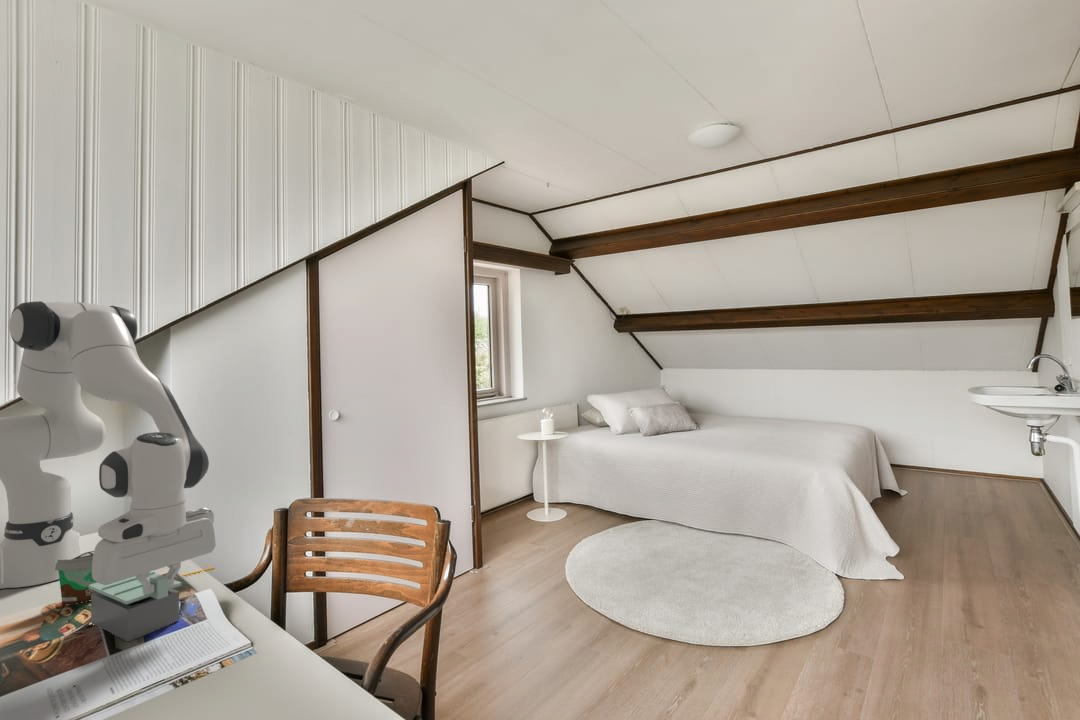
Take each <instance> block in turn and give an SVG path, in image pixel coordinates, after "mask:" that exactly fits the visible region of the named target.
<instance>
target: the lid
mask: <svg viewBox="0 0 1080 720" xmlns="http://www.w3.org/2000/svg"><path fill="white" fill-rule="evenodd" d="M146 579H147V580H148V581H149V582H153V583H155V584H156V588H155V589H156V592H155V593H152V594H150V595H144V594H143V585H142V584H141V583H140V582H139V581H138V580H137V578H136V576H134V577H131V578H128V579H124V580H121V581H118V582H115V583H112V584H108V585H102V584H100V583H98V582H97V583H94V584H91V585H89V589H92V590H94V591H96V592H99V593H101V594H103V595H106V596H108V597H110V598H113V599H115V600H117V601H119V602H122V603H124V604H126V605H127V604H130V603H132V602H135V601H138V600H141V599H144V598H147V597H153V598H155V599H161V598H164V597H166V596H168V590H170V589H175V588H178V587H180V586H182V581H178V580H177V579H175V580H174V586H173V587H170V588H168V577H166V575H163V574H160V573H157V572H155V571H150V577H148V578H146Z"/></svg>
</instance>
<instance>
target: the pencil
mask: <svg viewBox="0 0 1080 720" xmlns="http://www.w3.org/2000/svg"><path fill="white" fill-rule="evenodd" d="M215 569H216V567H214V566H213V567H209V568H205V569H202V570H203V571H205V572H208V571H212V570H215ZM202 570H197V571H194V572H189V573H186V574H181V575H180V576H186V577H188V576H187V575H190V576H192V575H191V574H194V575H197V574H196V573H198V574H201V573H200V572H202ZM205 572H204V573H205ZM202 573H203V572H202Z"/></svg>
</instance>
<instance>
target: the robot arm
mask: <svg viewBox="0 0 1080 720" xmlns="http://www.w3.org/2000/svg"><path fill="white" fill-rule="evenodd" d="M8 321H9V322H8V330H9V334H10V336H11V339H12V341H13V343H15V344H16V345H17V346H18V347H20V348H21V349H23V352H22V356H21V361H20V366H19V367H20V368H19V374H18V381H17V383H16V384H17V385H16V390H17V393H18V395H19V397H20V398H21V399H22V400H24V401H26V403H29V404H31V405H33V406H36V407H40V408H44V412H43V413H41V414H34V415H33V414H32V415H20V416H4V417H0V481H1V482H2V484H3V486H4V488H5V492H6V498H7V509H8V511H7V512H8V521H7V522H6V523H5V527H4V530H3V531H4V534H3V537H4V538H3V540H2V541H1V542H0V590H2V589H10V588H11V589H12V588H23V587H31V586H37V585H42V584H46V583H50V582H54V581H56V580H57V581H58V580H59V571H58V570H55V567H56V563H57V561H58V560H71V559H73V558H76V557H78V556H80V555H82V545H81V544H82V543H81V535H80V533H79V532H78V531H76V530H74V529H73V527H74V515H73V512H72V510H71V509H72V508H71V503H72V502H71V499H72V497H71V495H72V493H71V484H70V482H69V481H68V480H67V479H66V478H65V477H63V476H61V475H58V474H54V473H50V472H46V471H43V470H42V468H41V464H40V463H41V461H44V460H45V461H46V460H52V459H59V458H60V459H61V458H68V457H76V456H80V455H83V454H86V453H91V452H93V451H96V450H98V449H100V447H102V445H103V444H104V442H105V439H106V437H107V427H106V424H105V422H104V421H103V419H102V418H101V417H100V416H99V415H97V414H96V413H94V412H92V411H90V410H89V409H88V408H87V407H86V405H85V404H84V402H83V400H82V399H83V398H82V395H81V394H82V393H81V391H82V389H83V390H84V391H85V392H87V393H89V394H90V395H92V396H94V397H97V398H98V399H103V400H105V401H110V402H114V403H115V402H116V403H121V404H125V405H128V406H133V407H135V408H137V409H141V411H145V412H146V413H147V414H148V415H150V416H151V418H152V420H153V421H154V424H155V425H156V428H157V429H158V431H159V432H157V431H155V432H147V433H143V434H141V435H138V436H136V437H135V438H134V439H133V441H132V444H130V445H129V446H126V447H123V448H121V449H118V450H115V451H112V452H110V453H108V455H107V456H106V457H105V458H104V459H103V460H102V462H101V463H100V464H99V470H98V471H99V472H98V474H99V475H98V477H99V479H98V480H99V481H98V482H99V486H100V489H101V490H102V491H103V492H105V493H106V494H108V495H109V496H111V497H113V498H131V502H130V504H129V505H130V506H129V510H128V511H127V512H126V513H123V514H121V515H120V516H118V517H116V518H114V519H113V520H110V521H108V522H105V523H104V524H102V525H101V526H99V527H98V529H97V534H98V536H99V537H100V538H101V539H100V540H99V541H98V542H97V544H96V545H95V547H94V550H93V551H94V554H93V561H92V578H93V580H94V581H96V582H98V583H100V584H102V585H108V584H112V583H115V582H118V581H121V580H124V579H128V578H131V577H134V576H136V578H137V580H138V581H139V582H140V583H141V584H142V585H143V594H144V595H150V594H152V593H155V592H156V589H155V588H156V584H155V583H153V582H149V581H148V580H147V579H146V578H148V577H150V571H151V572H154V571H156V570H159V569H160V570H161V569H163V568H166V567H167V568H169V569H168V571H167V573H166V575H165V576H166V577H168V588H170V587H173V586H174V577H177V575H178V573H179V571H180V569H181V565H182V564H181V562H185V561H188V560H191V559H194V558H197V557H201V556H204V555H208V554H210V553H212V552H213V551H214V550H215V548H216V542H217V541H216V534H215V528H214V521H215V517H214V515H215V514H214V512H213V511H212V509H209V508H206V507H202V508H198V509H195V510H188V511H187V496H186V494H185V489H191V488H194V487H195V486H197V484H198V483H200V482H201V481H202V479H203V478H204V477H205V475H206V474H207V473H208V470H209V464H210V463H209V456H208V454H207V452H206V449H205V448H204V447H203V445H201V443H200V441H198V439H197V438H196V436H195V435H194V433H193V432H192V430H191V428H190V426H189V424H188V422H187V419H186V418H185V416H184V414H183V412H182V410H181V408H180V407H179V406H180V405H178V402H177V400H176V399H175V397H174V395H173V393H172V391H171V390H170V388H169V387H168V385H167V383H166V382H165V381H164V380H163V379H162V378H161V377H159V376H157V375H155V374H154V373H152V372H151V371H150V370H149V369H148V367H147V366H146V365H145V364H144V363H143V362H142V360H141V359H140V357H139V355H138V352H137V347H136V345H135V341H136V339H137V336H138V322H137V319H136V317H135V315H134V314H133V313H132V312H131V311H130V310H129V309H127V308H123V307H121V306H115V305H109V306H108V305H104V304H98V303H97V304H96V303H88V302H79V301H78V302H61V301H60V302H43V301H38V300H37V301H27V302H26V301H25V302H21V303H20V304H18V305H17V306H16V307H15V308H13V310H12V312H11V314H10V317H9V320H8Z"/></svg>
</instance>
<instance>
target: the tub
mask: <svg viewBox="0 0 1080 720" xmlns="http://www.w3.org/2000/svg"><path fill="white" fill-rule="evenodd" d="M90 608H91V611H90V613H91V614H90V615H91V617H90V623H92V624H94V625H96V626H98V627H100V628H102V629H104V630H107V631H108V632H111V633H112V634H111V633H110V634H111V635H113V634H114V635H113V636H115V635H116V636H115V637H117V636H118V637H117V638H119V637H120V638H119V639H121V638H122V639H121V640H123V639H124V640H123V641H125V640H126V641H125V642H127V641H129V642H131V641H133V639H134V640H135V639H138V638H141V637H144V636H146V635H149V634H150V633H153V632H156V631H158V630H161V629H163V628H165V626H166V627H169V626H170V625H169V624H171V625H173V624H174V623H173V622H176V621H177V620H179V621H180V591H179V590H176V589H175V588H173V589H170V590H168V596H166V597H164V598H161V599H155V598H153V597H147V598H144V599H141V600H138V601H135V602H132V603H130V604H127V605H126V604H124V603H122V602H119V601H117V600H115V599H113V598H110V597H108V596H106V595H103V594H101V593H99V592H96V593H93V594H91V602H90ZM172 623H173V624H172ZM176 623H177V622H176ZM92 624H91V625H92ZM94 625H93V626H94ZM96 626H95V627H96ZM98 627H97V628H98ZM162 627H163V628H162ZM100 628H99V629H100ZM160 628H161V629H160ZM102 629H101V630H102ZM104 630H103V631H104ZM155 630H156V631H155ZM108 632H107V633H108ZM130 640H131V641H130Z"/></svg>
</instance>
